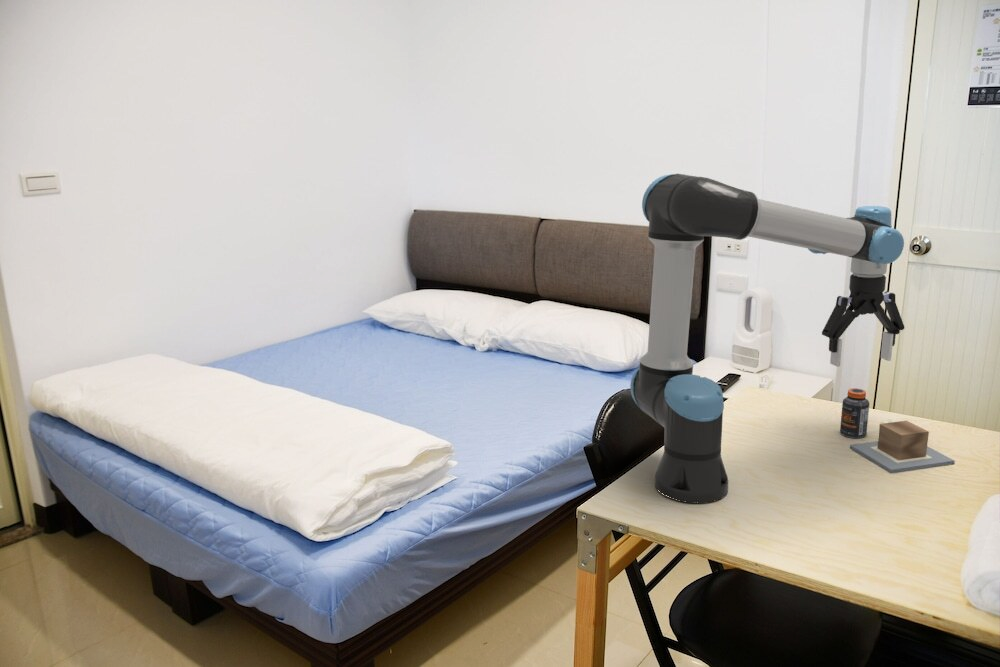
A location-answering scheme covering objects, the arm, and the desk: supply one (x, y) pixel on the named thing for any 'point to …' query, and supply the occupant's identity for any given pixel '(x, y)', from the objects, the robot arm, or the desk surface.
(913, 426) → the walnut block
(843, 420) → the pill bottle
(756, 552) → the desk surface
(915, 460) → the board
